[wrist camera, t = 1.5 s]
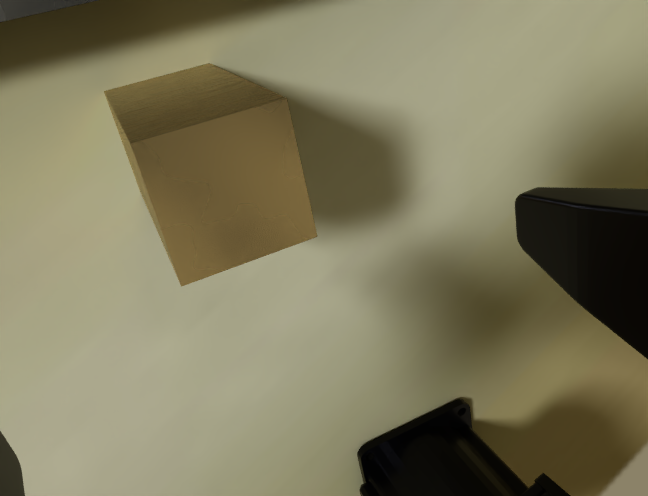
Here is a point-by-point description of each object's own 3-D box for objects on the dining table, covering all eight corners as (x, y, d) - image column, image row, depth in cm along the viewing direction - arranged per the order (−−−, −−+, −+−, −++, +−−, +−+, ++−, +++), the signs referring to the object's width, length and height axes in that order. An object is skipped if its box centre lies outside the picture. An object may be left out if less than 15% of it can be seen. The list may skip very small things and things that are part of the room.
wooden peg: (208, 63, 20) (286, 98, 13) (235, 161, 22) (317, 236, 15) (103, 91, 19) (130, 143, 12) (140, 191, 21) (181, 286, 14)
